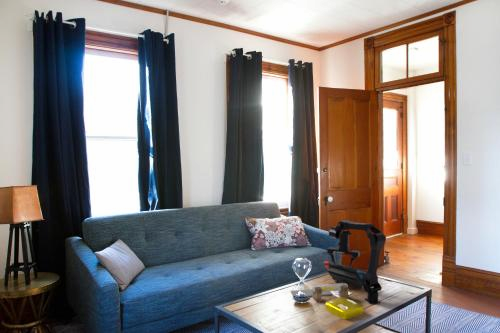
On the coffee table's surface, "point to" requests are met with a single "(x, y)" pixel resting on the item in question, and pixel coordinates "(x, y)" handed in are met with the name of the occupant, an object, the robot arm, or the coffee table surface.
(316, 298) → the hook posts
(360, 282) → the game console
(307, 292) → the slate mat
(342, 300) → the element tile
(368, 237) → the robot arm
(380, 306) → the coffee table surface
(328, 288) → the steel rail
